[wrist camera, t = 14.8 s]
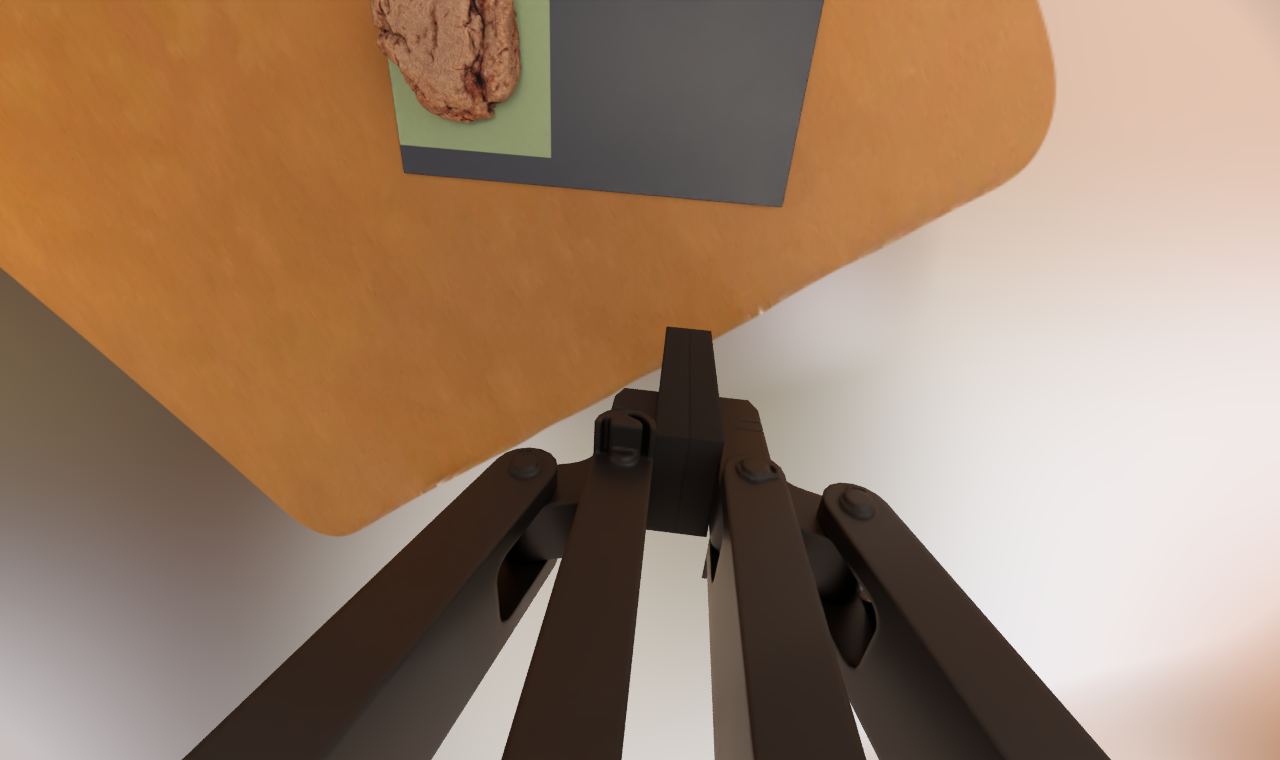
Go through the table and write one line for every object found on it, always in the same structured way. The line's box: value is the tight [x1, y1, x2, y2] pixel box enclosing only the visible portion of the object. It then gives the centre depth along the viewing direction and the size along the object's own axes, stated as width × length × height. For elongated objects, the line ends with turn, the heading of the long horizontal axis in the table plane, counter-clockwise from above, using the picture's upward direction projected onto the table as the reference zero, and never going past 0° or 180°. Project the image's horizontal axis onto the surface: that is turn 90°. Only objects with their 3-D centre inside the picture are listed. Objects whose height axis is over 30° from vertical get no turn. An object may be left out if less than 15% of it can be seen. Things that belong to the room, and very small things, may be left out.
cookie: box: [371, 0, 521, 123], centre depth 32 cm, size 10×11×3 cm
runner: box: [388, 0, 824, 207], centre depth 33 cm, size 18×30×1 cm, turn 86°
